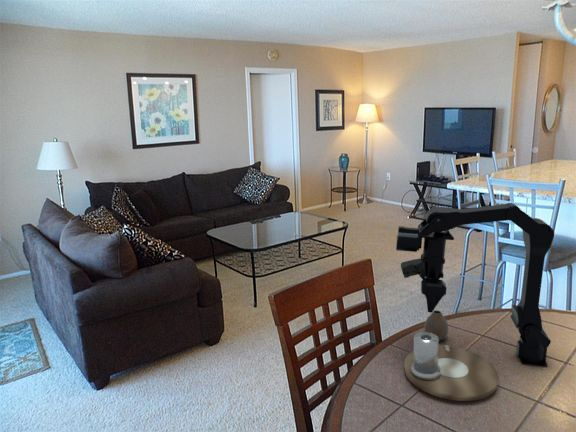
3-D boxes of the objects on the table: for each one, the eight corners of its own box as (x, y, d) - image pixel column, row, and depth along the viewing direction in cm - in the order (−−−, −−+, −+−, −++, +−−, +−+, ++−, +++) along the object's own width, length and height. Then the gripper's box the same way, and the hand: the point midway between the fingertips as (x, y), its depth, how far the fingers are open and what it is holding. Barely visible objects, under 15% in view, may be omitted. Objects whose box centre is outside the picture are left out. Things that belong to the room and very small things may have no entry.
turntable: (489, 357, 125) (490, 349, 124) (505, 410, 103) (506, 400, 103) (405, 348, 131) (405, 341, 130) (403, 396, 110) (403, 387, 109)
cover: (439, 366, 117) (440, 331, 115) (441, 382, 111) (441, 346, 108) (411, 363, 119) (411, 329, 117) (411, 379, 113) (411, 343, 110)
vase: (444, 332, 140) (446, 307, 138) (450, 344, 133) (451, 317, 131) (422, 332, 141) (423, 306, 139) (426, 343, 134) (427, 316, 132)
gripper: (403, 241, 134) (399, 289, 138) (404, 261, 116) (399, 316, 120) (442, 244, 131) (437, 293, 135) (449, 265, 114) (443, 321, 117)
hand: (428, 305), depth 127 cm, fingers open, 9 cm apart
